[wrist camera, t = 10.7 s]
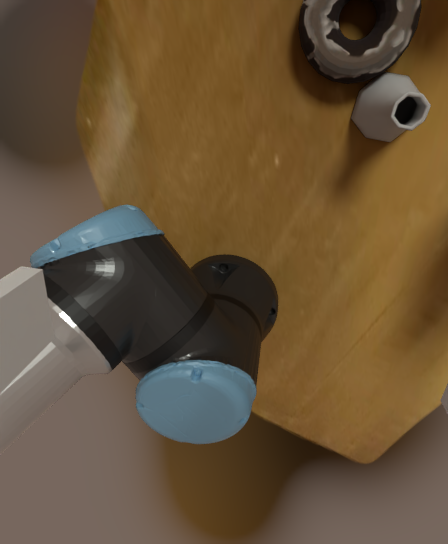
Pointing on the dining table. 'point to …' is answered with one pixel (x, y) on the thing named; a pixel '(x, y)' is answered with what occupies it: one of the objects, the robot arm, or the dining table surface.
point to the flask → (389, 107)
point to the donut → (356, 53)
